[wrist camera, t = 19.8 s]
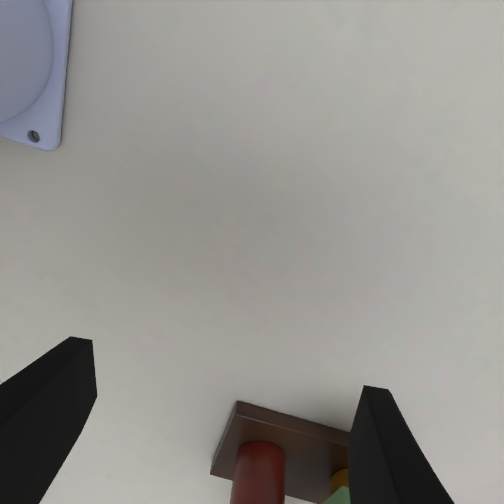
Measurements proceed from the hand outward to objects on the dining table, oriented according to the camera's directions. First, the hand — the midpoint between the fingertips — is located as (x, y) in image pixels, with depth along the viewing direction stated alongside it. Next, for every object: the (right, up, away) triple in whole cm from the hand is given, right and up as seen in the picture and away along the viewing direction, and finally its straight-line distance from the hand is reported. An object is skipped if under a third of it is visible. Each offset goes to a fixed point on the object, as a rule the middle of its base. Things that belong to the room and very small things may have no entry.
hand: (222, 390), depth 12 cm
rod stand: (+4, -9, +17) cm, 20 cm away
